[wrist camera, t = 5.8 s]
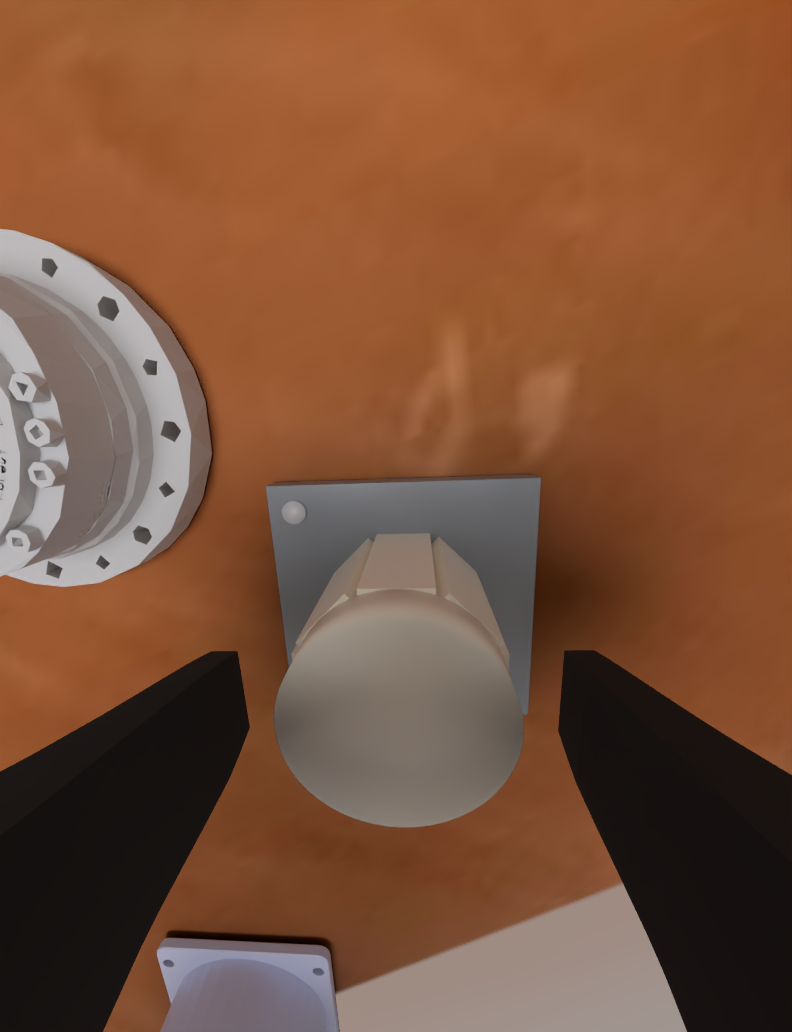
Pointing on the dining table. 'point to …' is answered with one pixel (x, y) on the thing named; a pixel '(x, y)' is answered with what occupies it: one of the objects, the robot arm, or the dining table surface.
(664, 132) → the dining table surface
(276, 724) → the wire nut
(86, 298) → the mechanical component
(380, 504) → the plate
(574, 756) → the robot arm
